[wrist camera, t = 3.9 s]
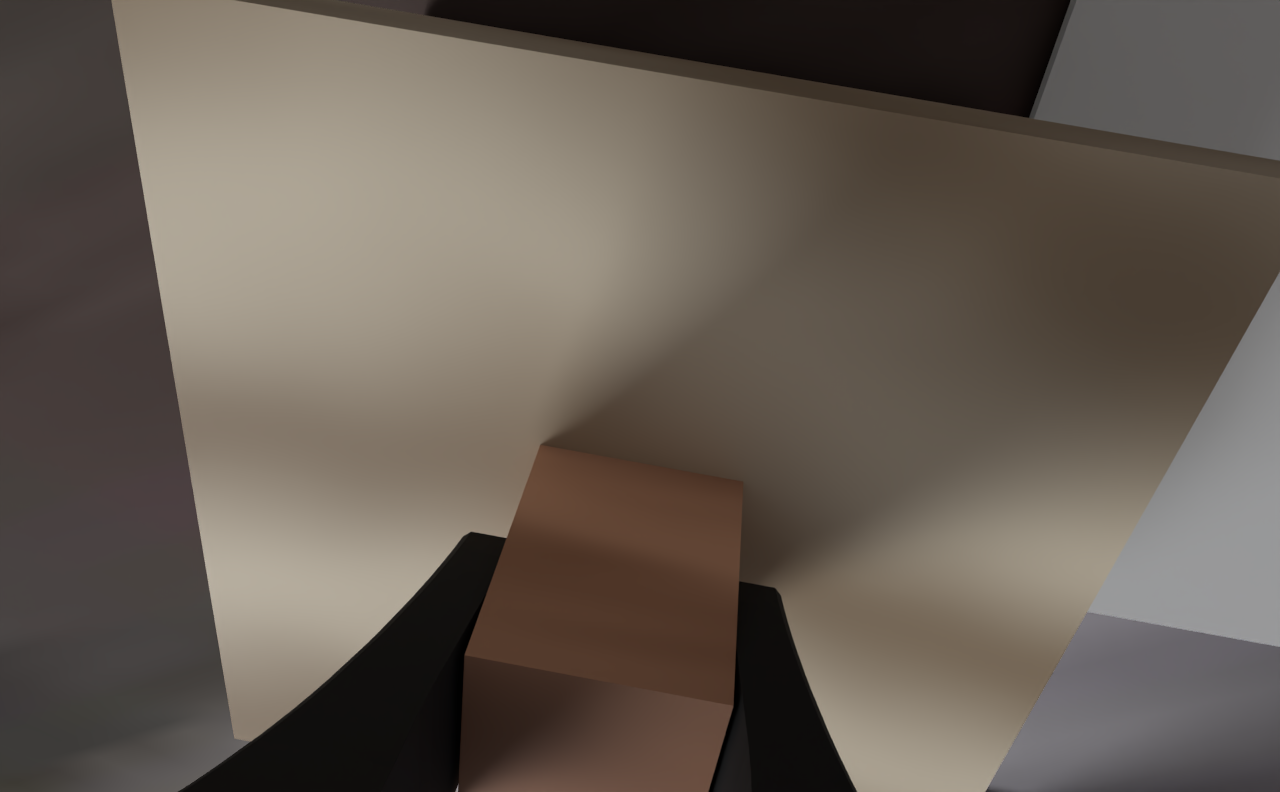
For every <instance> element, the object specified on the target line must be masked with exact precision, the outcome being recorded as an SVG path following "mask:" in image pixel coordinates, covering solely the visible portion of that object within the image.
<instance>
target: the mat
mask: <svg viewBox="0 0 1280 792" xmlns="http://www.w3.org/2000/svg"><path fill="white" fill-rule="evenodd" d="M1029 118H1032V119H1037V120H1043V121H1049V122H1055V123H1061V124H1067V125H1073V126H1079V127H1085V128H1090V129H1096V130H1102V131H1108V132H1114V133H1120V134H1126V135H1132V136H1137V137H1143V138H1149V139H1155V140H1161V141H1167V142H1173V143H1179V144H1184V145H1190V146H1196V147H1202V148H1208V149H1214V150H1220V151H1226V152H1232V153H1237V154H1243V155H1249V156H1255V157H1261V158H1267V159H1273V160H1279V161H1280V0H1071V1H1070V4H1069V7H1068V9H1067V12H1066V15H1065V18H1064V21H1063V24H1062V26H1061V29H1060V32H1059V35H1058V38H1057V40H1056V43H1055V46H1054V49H1053V52H1052V54H1051V57H1050V60H1049V63H1048V66H1047V68H1046V71H1045V74H1044V77H1043V80H1042V82H1041V85H1040V88H1039V91H1038V94H1037V97H1036V99H1035V102H1034V105H1033V108H1032V111H1031V113H1030V116H1029ZM1087 612H1091V613H1096V614H1102V615H1107V616H1113V617H1118V618H1124V619H1129V620H1135V621H1141V622H1146V623H1152V624H1157V625H1163V626H1168V627H1174V628H1179V629H1185V630H1190V631H1196V632H1201V633H1207V634H1212V635H1218V636H1223V637H1229V638H1234V639H1240V640H1245V641H1251V642H1256V643H1262V644H1267V645H1273V646H1278V647H1280V272H1279V274H1278V276H1277V277H1276V279H1275V281H1274V283H1273V285H1272V286H1271V288H1270V290H1269V292H1268V293H1267V295H1266V297H1265V299H1264V300H1263V302H1262V304H1261V306H1260V308H1259V309H1258V311H1257V313H1256V315H1255V316H1254V318H1253V320H1252V322H1251V323H1250V325H1249V327H1248V329H1247V330H1246V332H1245V334H1244V336H1243V338H1242V339H1241V341H1240V343H1239V345H1238V346H1237V348H1236V350H1235V352H1234V353H1233V355H1232V357H1231V359H1230V361H1229V362H1228V364H1227V366H1226V368H1225V369H1224V371H1223V373H1222V375H1221V376H1220V378H1219V380H1218V382H1217V383H1216V385H1215V387H1214V389H1213V391H1212V392H1211V394H1210V396H1209V398H1208V399H1207V401H1206V403H1205V405H1204V406H1203V408H1202V410H1201V412H1200V413H1199V415H1198V417H1197V419H1196V421H1195V422H1194V424H1193V426H1192V428H1191V429H1190V431H1189V433H1188V435H1187V436H1186V438H1185V440H1184V442H1183V444H1182V445H1181V447H1180V449H1179V451H1178V452H1177V454H1176V456H1175V458H1174V459H1173V461H1172V463H1171V465H1170V466H1169V468H1168V470H1167V472H1166V474H1165V475H1164V477H1163V479H1162V481H1161V482H1160V484H1159V486H1158V488H1157V489H1156V491H1155V493H1154V495H1153V497H1152V498H1151V500H1150V502H1149V504H1148V505H1147V507H1146V509H1145V511H1144V512H1143V514H1142V516H1141V518H1140V519H1139V521H1138V523H1137V525H1136V527H1135V528H1134V530H1133V532H1132V534H1131V535H1130V537H1129V539H1128V541H1127V542H1126V544H1125V546H1124V548H1123V549H1122V551H1121V553H1120V555H1119V557H1118V558H1117V560H1116V562H1115V564H1114V565H1113V567H1112V569H1111V571H1110V572H1109V574H1108V576H1107V578H1106V580H1105V581H1104V583H1103V585H1102V587H1101V588H1100V590H1099V592H1098V594H1097V595H1096V597H1095V599H1094V601H1093V602H1092V604H1091V606H1090V608H1089V610H1088V611H1087Z"/></svg>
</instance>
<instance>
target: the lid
mask: <svg viewBox="0 0 1280 792" xmlns="http://www.w3.org/2000/svg"><path fill="white" fill-rule="evenodd" d="M112 6H113V12H114V18H115V24H116V30H117V36H118V42H119V48H120V54H121V60H122V66H123V72H124V78H125V84H126V90H127V96H128V102H129V108H130V114H131V120H132V126H133V132H134V138H135V144H136V150H137V156H138V162H139V168H140V174H141V180H142V186H143V192H144V198H145V204H146V210H147V216H148V222H149V228H150V234H151V240H152V246H153V253H154V259H155V265H156V271H157V277H158V283H159V289H160V295H161V301H162V307H163V313H164V319H165V325H166V331H167V337H168V343H169V349H170V355H171V361H172V367H173V373H174V379H175V385H176V391H177V397H178V403H179V409H180V415H181V421H182V427H183V433H184V439H185V445H186V451H187V457H188V463H189V469H190V475H191V481H192V487H193V493H194V499H195V505H196V511H197V517H198V523H199V529H200V535H201V541H202V547H203V553H204V559H205V565H206V571H207V577H208V583H209V589H210V595H211V601H212V607H213V613H214V619H215V625H216V631H217V637H218V643H219V649H220V655H221V661H222V667H223V673H224V679H225V685H226V691H227V697H228V703H229V709H230V715H231V721H232V727H233V733H234V738H235V739H240V740H245V741H250V742H251V741H252V740H254V739H255V738H256V737H258V736H259V735H261V734H262V733H263V732H265V731H266V730H267V729H268V728H270V727H271V726H272V725H274V724H275V723H276V722H277V721H279V720H280V719H281V718H282V717H284V716H285V715H286V714H287V713H289V712H290V711H291V710H293V709H294V708H295V707H296V706H297V705H299V704H300V703H301V702H302V701H303V700H305V699H306V698H307V697H308V696H309V695H311V694H312V693H313V692H314V691H315V690H316V689H318V688H319V687H320V686H321V685H322V684H323V683H325V682H326V681H327V680H328V679H329V678H330V677H331V676H332V675H334V674H335V673H336V672H337V671H338V670H339V669H340V668H341V667H342V666H343V665H344V664H345V663H346V662H348V661H349V660H350V659H351V658H352V657H353V656H354V655H355V654H356V653H357V652H358V651H359V650H360V649H362V648H363V647H364V646H365V645H366V644H367V643H368V642H369V641H370V640H371V639H372V638H373V637H374V636H375V635H376V634H377V633H378V632H379V631H380V630H381V629H382V628H383V627H384V626H385V625H386V624H387V623H388V622H389V621H390V620H391V619H392V618H393V617H394V616H395V615H396V614H397V612H398V611H399V610H400V609H401V608H402V607H403V606H404V605H405V604H406V603H407V602H408V601H409V600H410V599H411V598H412V597H413V596H414V595H415V593H416V592H417V591H418V590H419V589H420V588H421V587H422V586H423V585H424V583H425V582H426V581H427V580H428V579H429V578H430V577H431V575H432V574H433V573H434V572H435V571H436V570H437V568H438V567H439V566H440V565H441V564H442V562H443V561H444V560H445V559H446V558H447V556H448V555H449V554H450V553H451V551H452V550H453V549H454V548H455V546H456V545H457V544H458V542H459V541H460V540H461V538H462V537H463V536H464V535H466V534H468V533H470V532H477V533H482V534H488V535H493V536H498V537H504V538H507V539H506V541H505V544H504V547H503V550H502V552H501V555H500V558H499V561H498V563H497V566H496V569H495V572H494V575H493V577H492V580H491V583H490V586H489V588H488V591H487V594H486V597H485V600H484V602H483V605H482V608H481V611H480V613H479V616H478V619H477V622H476V625H475V627H474V630H473V633H472V636H471V638H470V641H469V644H468V647H467V649H466V652H465V655H464V676H463V698H462V720H461V742H460V764H459V786H458V792H708V791H709V788H710V784H711V781H712V777H713V774H714V771H715V767H716V764H717V760H718V757H719V754H720V750H721V747H722V743H723V740H724V736H725V733H726V730H727V726H728V723H729V719H730V716H731V713H732V709H733V705H734V682H735V659H736V637H737V614H738V591H739V581H741V582H747V583H752V584H758V585H763V586H769V587H774V588H776V590H777V591H778V592H779V594H780V595H781V598H782V602H783V606H784V610H785V613H786V617H787V621H788V624H789V627H790V631H791V634H792V637H793V640H794V643H795V646H796V649H797V652H798V655H799V658H800V661H801V664H802V666H803V669H804V672H805V675H806V677H807V680H808V683H809V685H810V688H811V690H812V693H813V695H814V698H815V700H816V702H817V705H818V707H819V710H820V712H821V715H822V717H823V719H824V722H825V724H826V727H827V729H828V731H829V734H830V736H831V738H832V740H833V742H834V745H835V747H836V749H837V751H838V754H839V756H840V758H841V760H842V762H843V764H844V766H845V768H846V770H847V772H848V774H849V776H850V778H851V780H852V782H853V785H854V787H855V788H856V790H857V792H985V791H986V790H987V788H988V786H989V784H990V783H991V781H992V779H993V777H994V776H995V774H996V772H997V770H998V768H999V767H1000V765H1001V763H1002V761H1003V760H1004V758H1005V756H1006V754H1007V753H1008V751H1009V749H1010V747H1011V746H1012V744H1013V742H1014V740H1015V738H1016V737H1017V735H1018V733H1019V731H1020V730H1021V728H1022V726H1023V724H1024V723H1025V721H1026V719H1027V717H1028V716H1029V714H1030V712H1031V710H1032V708H1033V707H1034V705H1035V703H1036V701H1037V700H1038V698H1039V696H1040V694H1041V693H1042V691H1043V689H1044V687H1045V685H1046V684H1047V682H1048V680H1049V678H1050V677H1051V675H1052V673H1053V671H1054V670H1055V668H1056V666H1057V664H1058V663H1059V661H1060V659H1061V657H1062V655H1063V654H1064V652H1065V650H1066V648H1067V647H1068V645H1069V643H1070V641H1071V640H1072V638H1073V636H1074V634H1075V632H1076V631H1077V629H1078V627H1079V625H1080V624H1081V622H1082V620H1083V618H1084V617H1085V615H1086V613H1087V611H1088V610H1089V608H1090V606H1091V604H1092V602H1093V601H1094V599H1095V597H1096V595H1097V594H1098V592H1099V590H1100V588H1101V587H1102V585H1103V583H1104V581H1105V580H1106V578H1107V576H1108V574H1109V572H1110V571H1111V569H1112V567H1113V565H1114V564H1115V562H1116V560H1117V558H1118V557H1119V555H1120V553H1121V551H1122V549H1123V548H1124V546H1125V544H1126V542H1127V541H1128V539H1129V537H1130V535H1131V534H1132V532H1133V530H1134V528H1135V527H1136V525H1137V523H1138V521H1139V519H1140V518H1141V516H1142V514H1143V512H1144V511H1145V509H1146V507H1147V505H1148V504H1149V502H1150V500H1151V498H1152V497H1153V495H1154V493H1155V491H1156V489H1157V488H1158V486H1159V484H1160V482H1161V481H1162V479H1163V477H1164V475H1165V474H1166V472H1167V470H1168V468H1169V466H1170V465H1171V463H1172V461H1173V459H1174V458H1175V456H1176V454H1177V452H1178V451H1179V449H1180V447H1181V445H1182V444H1183V442H1184V440H1185V438H1186V436H1187V435H1188V433H1189V431H1190V429H1191V428H1192V426H1193V424H1194V422H1195V421H1196V419H1197V417H1198V415H1199V413H1200V412H1201V410H1202V408H1203V406H1204V405H1205V403H1206V401H1207V399H1208V398H1209V396H1210V394H1211V392H1212V391H1213V389H1214V387H1215V385H1216V383H1217V382H1218V380H1219V378H1220V376H1221V375H1222V373H1223V371H1224V369H1225V368H1226V366H1227V364H1228V362H1229V361H1230V359H1231V357H1232V355H1233V353H1234V352H1235V350H1236V348H1237V346H1238V345H1239V343H1240V341H1241V339H1242V338H1243V336H1244V334H1245V332H1246V330H1247V329H1248V327H1249V325H1250V323H1251V322H1252V320H1253V318H1254V316H1255V315H1256V313H1257V311H1258V309H1259V308H1260V306H1261V304H1262V302H1263V300H1264V299H1265V297H1266V295H1267V293H1268V292H1269V290H1270V288H1271V286H1272V285H1273V283H1274V281H1275V279H1276V277H1277V276H1278V274H1279V272H1280V161H1279V160H1273V159H1267V158H1261V157H1255V156H1249V155H1243V154H1237V153H1232V152H1226V151H1220V150H1214V149H1208V148H1202V147H1196V146H1190V145H1184V144H1179V143H1173V142H1167V141H1161V140H1155V139H1149V138H1143V137H1137V136H1132V135H1126V134H1120V133H1114V132H1108V131H1102V130H1096V129H1090V128H1085V127H1079V126H1073V125H1067V124H1061V123H1055V122H1049V121H1043V120H1037V119H1032V118H1026V117H1020V116H1014V115H1008V114H1002V113H996V112H990V111H985V110H979V109H973V108H967V107H961V106H955V105H949V104H943V103H937V102H932V101H926V100H920V99H914V98H908V97H902V96H896V95H890V94H885V93H879V92H873V91H867V90H861V89H855V88H849V87H843V86H838V85H832V84H826V83H820V82H814V81H808V80H802V79H796V78H790V77H785V76H779V75H773V74H767V73H761V72H755V71H749V70H743V69H738V68H732V67H726V66H720V65H714V64H708V63H702V62H696V61H690V60H685V59H679V58H673V57H667V56H661V55H655V54H649V53H643V52H638V51H632V50H626V49H620V48H614V47H608V46H602V45H596V44H591V43H585V42H579V41H573V40H567V39H561V38H555V37H549V36H543V35H538V34H532V33H526V32H520V31H514V30H508V29H502V28H496V27H491V26H485V25H479V24H473V23H467V22H461V21H455V20H449V19H443V18H438V17H432V16H426V15H420V14H414V13H408V12H402V11H396V10H391V9H385V8H379V7H373V6H367V5H361V4H355V3H349V2H344V1H338V0H112Z"/></svg>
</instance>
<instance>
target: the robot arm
mask: <svg viewBox="0 0 1280 792" xmlns="http://www.w3.org/2000/svg"><path fill="white" fill-rule="evenodd" d="M506 539H507V538H504V537H498V536H493V535H488V534H482V533H477V532H470V533H468V534H466V535H464V536H463V537H462V538H461V540H460V541H459V542H458V544H457V545H456V546H455V548H454V549H453V550H452V551H451V553H450V554H449V555H448V556H447V558H446V559H445V560H444V561H443V562H442V564H441V565H440V566H439V567H438V568H437V570H436V571H435V572H434V573H433V574H432V575H431V577H430V578H429V579H428V580H427V581H426V582H425V583H424V585H423V586H422V587H421V588H420V589H419V590H418V591H417V592H416V593H415V595H414V596H413V597H412V598H411V599H410V600H409V601H408V602H407V603H406V604H405V605H404V606H403V607H402V608H401V609H400V610H399V611H398V612H397V614H396V615H395V616H394V617H393V618H392V619H391V620H390V621H389V622H388V623H387V624H386V625H385V626H384V627H383V628H382V629H381V630H380V631H379V632H378V633H377V634H376V635H375V636H374V637H373V638H372V639H371V640H370V641H369V642H368V643H367V644H366V645H365V646H364V647H363V648H362V649H360V650H359V651H358V652H357V653H356V654H355V655H354V656H353V657H352V658H351V659H350V660H349V661H348V662H346V663H345V664H344V665H343V666H342V667H341V668H340V669H339V670H338V671H337V672H336V673H335V674H334V675H332V676H331V677H330V678H329V679H328V680H327V681H326V682H325V683H323V684H322V685H321V686H320V687H319V688H318V689H316V690H315V691H314V692H313V693H312V694H311V695H309V696H308V697H307V698H306V699H305V700H303V701H302V702H301V703H300V704H299V705H297V706H296V707H295V708H294V709H293V710H291V711H290V712H289V713H287V714H286V715H285V716H284V717H282V718H281V719H280V720H279V721H277V722H276V723H275V724H274V725H272V726H271V727H270V728H268V729H267V730H266V731H265V732H263V733H262V734H261V735H259V736H258V737H256V738H255V739H254V740H252V741H251V742H250V743H248V744H247V745H245V746H244V747H243V748H241V749H240V750H238V751H237V752H236V753H234V754H233V755H232V756H230V757H229V758H227V759H226V760H225V761H223V762H222V763H221V764H219V765H218V766H216V767H215V768H213V769H212V770H210V771H209V772H207V773H206V774H205V775H203V776H202V777H200V778H199V779H197V780H196V781H194V782H193V783H191V784H190V785H188V786H186V787H185V788H183V789H182V790H180V791H178V792H455V791H456V788H457V786H458V783H459V764H460V742H461V720H462V698H463V676H464V655H465V652H466V649H467V647H468V644H469V641H470V638H471V636H472V633H473V630H474V627H475V625H476V622H477V619H478V616H479V613H480V611H481V608H482V605H483V602H484V600H485V597H486V594H487V591H488V588H489V586H490V583H491V580H492V577H493V575H494V572H495V569H496V566H497V563H498V561H499V558H500V555H501V552H502V550H503V547H504V544H505V541H506ZM708 792H857V790H856V788H855V787H854V785H853V782H852V780H851V778H850V776H849V774H848V772H847V770H846V768H845V766H844V764H843V762H842V760H841V758H840V756H839V754H838V751H837V749H836V747H835V745H834V742H833V740H832V738H831V736H830V734H829V731H828V729H827V727H826V724H825V722H824V719H823V717H822V715H821V712H820V710H819V707H818V705H817V702H816V700H815V698H814V695H813V693H812V690H811V688H810V685H809V683H808V680H807V677H806V675H805V672H804V669H803V666H802V664H801V661H800V658H799V655H798V652H797V649H796V646H795V643H794V640H793V637H792V634H791V631H790V627H789V624H788V621H787V617H786V613H785V610H784V606H783V602H782V598H781V595H780V594H779V592H778V591H777V590H776V588H774V587H769V586H763V585H758V584H752V583H747V582H741V581H739V591H738V614H737V637H736V659H735V682H734V705H733V709H732V713H731V716H730V719H729V723H728V726H727V730H726V733H725V736H724V740H723V743H722V747H721V750H720V754H719V757H718V760H717V764H716V767H715V771H714V774H713V777H712V781H711V784H710V788H709V791H708Z"/></svg>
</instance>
